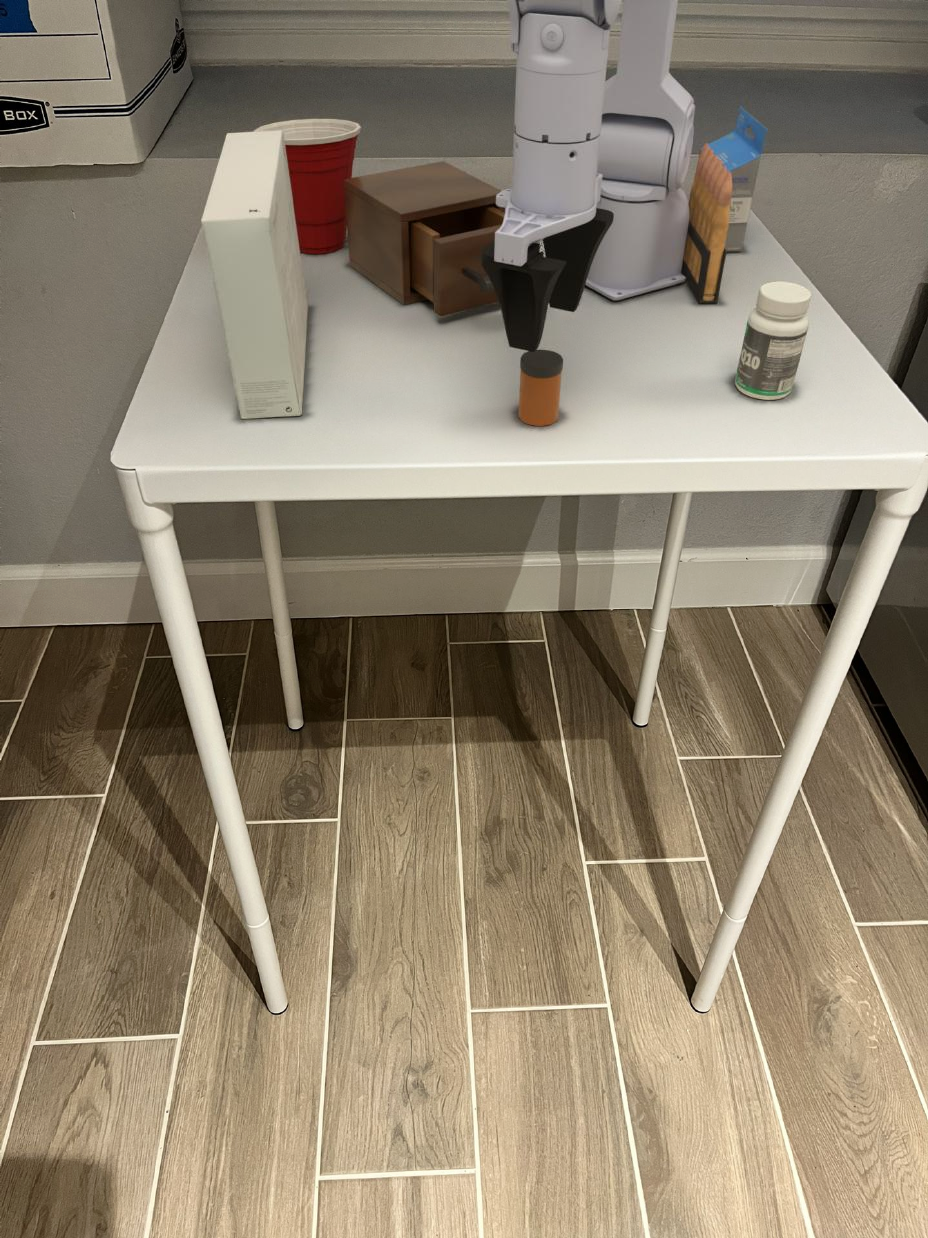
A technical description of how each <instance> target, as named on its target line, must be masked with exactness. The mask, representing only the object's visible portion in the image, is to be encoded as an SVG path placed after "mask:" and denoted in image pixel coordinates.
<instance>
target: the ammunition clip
mask: <svg viewBox="0 0 928 1238" xmlns="http://www.w3.org/2000/svg"><path fill="white" fill-rule="evenodd" d="M708 144H709V143H708V142H705V143H704V145H703V146H702V147H703V149H702V151H701V154H700V156H699V155H698V159H699V160H697V165H696V170H695V173H694V178H693V183H692V185H691V188H690V193H689V198H688V204H689V212H690V217H689V225H688V231H687V238H686V244H685V250H684V256H683V263H682V269H681V275H683V276H685V277H686V281H685V282H686V283H687V285H688V287H689V288H690V290H691V292H692V294H693V296H694V298H695V300H696V301H697V303H698V304H718V301H719V297H720V291H721V285H722V284H721V283H722V279H723V275H724V274H723V273H724V268H725V262H726V256H727V253H726V252H727V251H726V249H725V242H726V237H727V231H728V226H729V211H730V202H731V196H732V175H731V172H730V171H729V172H728V173H727V168H726V166H725V165H724V166H722V161H721V160H718V157H717V154H714V155H713V150H712V148H710V149H709V146H708Z"/></svg>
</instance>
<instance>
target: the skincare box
mask: <svg viewBox="0 0 928 1238" xmlns="http://www.w3.org/2000/svg"><path fill="white" fill-rule="evenodd" d="M217 162H218V163H217V165H216V169H215V172H214V176H213V180H212V183H211V187H210V190H209V193H208V196H207V200H206V203H205V206H204V210H203V213H202V216H201V219H200V223H201V228H202V232H203V238H204V242H205V248H206V252H207V257H208V262H209V266H210V272H211V276H212V281H213V287H214V292H215V296H216V302H217V306H218V310H219V311H218V312H219V317H220V320H221V325H222V330H223V335H224V340H225V346H226V349H227V355H228V360H229V366H230V371H231V375H232V380H233V386H234V390H235V395H236V399H237V406H238V409H239V410H238V411H239V415H240V419H241V420H243V419H244V420H245V419H246V420H249V419H262V418H263V419H264V418H278V417H299V416H301V415H302V414H303V397H304V387H305V386H304V384H305V381H304V380H305V379H304V378H305V369H306V367H305V366H306V349H307V329H308V315H309V314H308V313H309V302H308V295H307V289H306V282H305V276H304V270H303V264H302V256H301V252H300V249H299V242H298V235H297V228H296V221H295V214H294V206H293V197H292V190H291V183H290V176H289V169H288V162H287V155H286V148H285V141H284V134H283V131H282V130H277V131H259V132H254V131H243V132H241V131H240V132H227V133H226V135H225V139H224V142H223V145H222V149H221V151H220V156H219V159H218V161H217Z"/></svg>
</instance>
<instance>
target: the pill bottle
mask: <svg viewBox="0 0 928 1238" xmlns="http://www.w3.org/2000/svg"><path fill="white" fill-rule="evenodd" d="M811 293H812V292H811V291H810V290H809V289H808V288H806V287H804V286H802V285H800V284H798V283H794V282H788V281H770V282H766V283H764V284H762V285H761V286H760V287H759V290H758V294H757V298H756V303H755V307H754V308H753V309H752V310H751V311H750V312H749V315H748V318H747V322H746V327H745V331H744V336H743V341H742V346H741V351H740V354H739V360H738V365H737V368H736V373H735V378H734V384H735V386H736V389H737V390H738V391H739V392H741V393H742V394H743V395H745V396H748V397H751V398H753V399H759V400H765V401H774V400H779V399H784V398H785V397H787V396H788V395H790V394H791V392H792V390H793V386H794V383H795V379H796V375H797V371H798V368H799V364H800V360H801V357H802V352H803V349H804V345H805V342H806V338H807V334H808V330H809V325H810V320H809V317H808V315H807V313H808V310H809V306H810V303H811V298H812V294H811Z"/></svg>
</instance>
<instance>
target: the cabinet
mask: <svg viewBox="0 0 928 1238" xmlns="http://www.w3.org/2000/svg"><path fill="white" fill-rule="evenodd" d="M501 191H502V190H501V189H499V188H497V187H495V186H493V185H491V184H489V183H488V182H485V181H484V180H481V179H480V178H478V177H475V176H474V175H472V174H469V173H468V172H466V171H464V170H462V169H460V168H457V167H456V166H454V165H452V164H450V163H448V162H447V161H444V160H443V161H437V162H431V163H427V164H420V165H415V166H410V167H405V168H399V169H398V168H397V169H393V170H392V169H391V170H387V171H382V172H377V173H371V174H366V175H359V176H355V177H352V178H348V179H344V192H345V206H346V220H347V230H346V235H347V248H348V261H349V267H351V268H352V269H354V270H355V271H356V272H358V273H359V274H361V275H362V276H363V277H364V278H366V279H367V280H369V281H370V282H371V283H373V284H374V285H376V286H377V287H378V288H380V289H381V290H382V291H384V292H385V293H387V294H388V295H390V296H391V297H392V298H393V299H394V300H396V301H398V302H399V303H400V304H402V305H403V306H405V305H406V306H407V305H410V304H414V303H418V302H421V301H422V302H423V301H426V300H428V299H427V298H426V297H425V296H423V295H422V294H420V293H419V292H417V291H416V290H415V289H413V288H412V287H410V263H409V230H408V221H412V220H417V219H422V218H427V217H431V216H436V215H441V214H446V213H451V212H456V211H460V210H465V209H470V208H475V207H480V206H485V205H491V206H493V207H495V208H497V209H498V210H500V211H502V212H504V213H505V212H506V208H504V207H499V206H497V205H496V195H497V194H499V193H500V192H501Z"/></svg>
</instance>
